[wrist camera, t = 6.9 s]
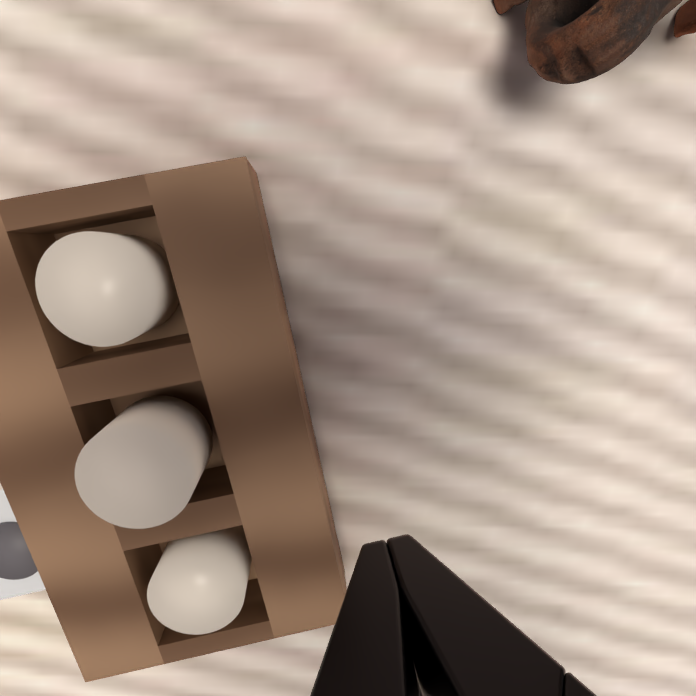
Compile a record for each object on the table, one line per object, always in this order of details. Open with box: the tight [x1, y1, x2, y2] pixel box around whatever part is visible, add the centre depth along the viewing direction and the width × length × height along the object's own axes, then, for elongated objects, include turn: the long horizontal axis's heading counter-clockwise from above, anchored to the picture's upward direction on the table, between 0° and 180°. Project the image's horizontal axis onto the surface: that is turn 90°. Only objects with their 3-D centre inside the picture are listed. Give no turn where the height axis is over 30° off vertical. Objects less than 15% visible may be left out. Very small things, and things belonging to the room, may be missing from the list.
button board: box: [0, 157, 347, 682], centre depth 18 cm, size 20×12×3 cm, turn 11°
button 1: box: [35, 231, 179, 347], centre depth 16 cm, size 4×4×3 cm
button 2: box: [147, 525, 252, 635], centre depth 19 cm, size 4×4×3 cm
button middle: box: [75, 396, 213, 529], centre depth 16 cm, size 4×4×3 cm
